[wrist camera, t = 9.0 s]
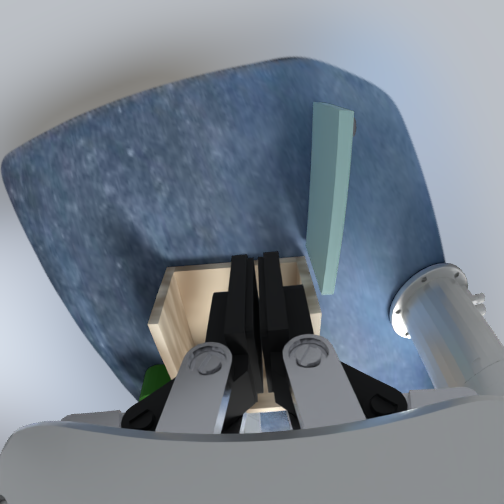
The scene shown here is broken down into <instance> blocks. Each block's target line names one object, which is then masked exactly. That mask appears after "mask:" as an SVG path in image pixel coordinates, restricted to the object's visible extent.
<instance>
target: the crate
mask: <svg viewBox="0 0 504 504" xmlns="http://www.w3.org/2000/svg"><path fill="white" fill-rule="evenodd" d="M279 260H280V267H281V275H282V282H283V286H291V285H301V284H303V286H304V290H305V294H306V299H307V303H308V308H309V313H310V317H311V322H312V327H313V331H314V335H319V336H320V325H321V309H320V306H319V302H318V299H317V296H316V292H315V289H314V286H313V282H312V279H311V276H310V272H309V269H308V266H307V263H306V259H305V256H301V257H289V258H279ZM254 266H255V274H256V281H257V289H258V296H259V282H258V260H254ZM230 269H231V262H228V263H216V264H203V265H190V266H177V267H167V268H166V271H165V274H164V277H163V280H162V282H161V285H160V288H159V291H158V294H157V297H156V300H155V303H154V306H153V309H152V312H151V315H150V318H149V321H148V327H149V329H150V331H151V334H152V336H153V339H154V341H155V344H156V346H157V348H158V351H159V353H160V355H161V357H162V360H163V362H164V364H165V366H166V369H167V371H168V373H169V375H170V377H171V380H172V379H173V378H175V377H176V376H177V373H178V371H179V368H180V366H181V363H182V361H183V358H184V356H185V355H186V353H187V352H188V351H189V350H190V349H191V348H193V347H195V346H196V345H198V344H202V343H205V339H206V333H207V326H208V320H209V314H210V308H211V302H212V296H213V293H214V292H226V291H228V287H229V278H230ZM262 354H263V351H262ZM263 389H264V392H263V393H259V394H258V402H256V403H255V404H254V405H253V406H252V407H251V408H250V409H248V410H247V413H259V412H273V411H284V410H286V409H284V408H283V407H281V406H280V405H278V404H277V403H275V397H274V392H272V393H268V386H267V379H266V372H265V365H264V358H263Z"/></svg>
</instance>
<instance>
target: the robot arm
mask: <svg viewBox="0 0 504 504" xmlns="http://www.w3.org/2000/svg"><path fill="white" fill-rule="evenodd" d="M263 255H264V257H258V282H259V296H258V289H257V281H256V274H255V266H254V259H253V258H248V256H247V254H245V255H235V256H232V259H231V269H230V278H229V287H228V291H226V292H214V293H213V296H212V302H211V308H210V314H209V320H208V326H207V333H206V339H205V343H202V344H198V345H196V346H195V347H193V348H191V349H190V350H189V351H188V352H187V353H186V355H185V356H184V358H183V361H182V363H181V366H180V368H179V371H178V373H177V376H176V377H175V378H173V379H172V380H170V381H169V382H168V383H166V384H165V385H163V386H162V387H160V388H159V389H157V390H156V391H154V392H153V393H151V394H150V395H148V396H147V397H145V398H144V399H142V400H141V401H139V402H138V403H136V404H135V405H133V406H132V407H131V408H129V409H128V410H127V411H126V412H125V413H121V411H120V410H116V411H107V412H95V413H83V414H71V415H67V416H66V417H64V418H63V419H62V420H61V421H44V422H38V423H33V424H29V425H26V426H23V427H21V428H19V429H17V430H16V431H15V432H14V433H13V434H12V435H11V436H10V437H9V439H8V440H7V442H6V444H5V446H4V448H3V450H2V452H1V454H0V504H504V346H503V345H502V343H501V342H500V341H499V339H498V338H497V336H496V334H495V333H494V331H493V330H492V329H491V327H490V326H489V324H488V323H487V322H486V320H485V319H484V317H483V316H484V315H485V312H486V308H485V306H484V304H478V303H482V302H484V301H485V296H484V294H483V293H480V294H475V295H472V294H471V293H470V291H469V290H468V283H467V278H466V276H465V274H464V273H463V272H462V271H461V270H460V268H458V267H457V266H455V265H453V264H449V263H441V264H435V265H432V266H429V267H427V268H425V269H423V270H421V271H420V272H418V273H417V274H415V275H414V276H413V277H411V278H410V279H409V280H408V281H407V282H406V283H405V284H404V285H403V286H402V287H401V289H400V290H399V292H398V293H397V294H396V296H395V298H394V300H393V302H392V305H391V308H390V314H389V317H390V323H391V325H392V327H393V329H394V330H395V332H396V333H397V334H399V335H400V336H402V337H405V338H411V339H412V341H413V343H414V345H415V347H416V349H417V351H418V353H419V355H420V358H421V360H422V362H423V364H424V366H425V368H426V370H427V372H428V374H429V377H430V379H431V381H432V383H433V385H434V388H435V389H425V390H410V391H409V393H401V392H399V391H398V390H396V389H395V388H393V387H391V386H389V385H387V384H385V383H383V382H381V381H379V380H377V379H374V378H372V377H370V376H368V375H366V374H364V373H362V372H360V371H358V370H357V369H355V368H353V367H351V366H349V365H347V364H345V363H343V362H341V361H340V360H339V358H338V356H337V354H336V352H335V350H334V347H333V346H332V344H331V343H330V342H329V341H328V340H327V339H325V338H324V337H322V336H319V335H314V331H313V327H312V322H311V317H310V313H309V308H308V303H307V299H306V294H305V290H304V286H303V284H301V285H291V286H283V282H282V275H281V267H280V260H279V253H278V251H275V252H265V253H263ZM475 304H477V305H475ZM262 351H263V354H262ZM263 358H264V365H265V372H266V379H267V386H268V393H272V392H274V397H275V403H277V404H278V405H280V406H281V407H283V408H284V409H286V410H287V417H288V420H289V424H290V428H291V430H289V431H278V432H264V433H244V428H245V423H246V418H247V410H248V409H250V408H251V407H252V406H253V405H254V404H255V403H256V402H258V394H259V393H263V392H264V389H263Z"/></svg>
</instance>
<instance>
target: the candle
mask: <svg viewBox="0 0 504 504" xmlns="http://www.w3.org/2000/svg"><path fill="white" fill-rule="evenodd" d="M170 380H171V377H170V375H169V373H168V371H167V369H166V366H165V364H159V365H154V366H151V367H150V368H148V370H147V371H146V373H145V377H144V381H143V385H142V390H141V394H140V398H139V401H141V400H142V399H144V398H145V397H147V396H148V395H150V394H151V393H153V392H154V391H156V390H157V389H159V388H160V387H162V386H163V385H165V384H166V383H168V382H169V381H170Z"/></svg>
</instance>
